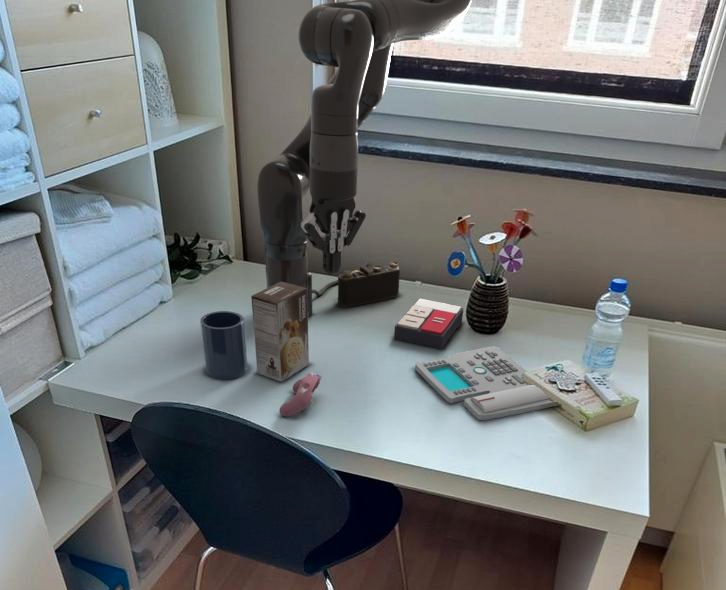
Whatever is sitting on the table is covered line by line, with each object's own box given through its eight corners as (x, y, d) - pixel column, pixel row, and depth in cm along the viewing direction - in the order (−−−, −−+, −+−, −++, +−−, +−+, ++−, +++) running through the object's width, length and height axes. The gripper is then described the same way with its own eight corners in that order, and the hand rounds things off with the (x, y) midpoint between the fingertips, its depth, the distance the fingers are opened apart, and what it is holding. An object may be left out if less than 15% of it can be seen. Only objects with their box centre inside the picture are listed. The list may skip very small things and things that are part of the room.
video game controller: (298, 427, 121) (315, 399, 117) (276, 414, 120) (292, 385, 116) (312, 399, 129) (329, 372, 124) (291, 387, 128) (307, 359, 124)
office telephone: (565, 393, 126) (473, 414, 119) (562, 405, 127) (471, 426, 120) (496, 339, 142) (412, 355, 135) (494, 351, 144) (410, 366, 137)
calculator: (394, 323, 145) (418, 295, 155) (393, 341, 147) (417, 312, 158) (443, 333, 141) (464, 304, 152) (441, 351, 144) (462, 322, 155)
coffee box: (284, 356, 139) (281, 279, 129) (309, 364, 136) (308, 287, 126) (255, 373, 133) (250, 294, 123) (281, 383, 130) (278, 303, 120)
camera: (387, 287, 170) (389, 255, 165) (402, 297, 165) (404, 264, 160) (329, 299, 163) (329, 266, 158) (342, 309, 158) (343, 275, 154)
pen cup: (233, 356, 138) (228, 307, 132) (255, 371, 133) (252, 321, 127) (198, 367, 134) (192, 317, 127) (220, 383, 129) (214, 332, 123)
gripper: (314, 174, 100) (314, 287, 111) (381, 163, 107) (374, 271, 118) (284, 163, 104) (287, 273, 115) (350, 153, 111) (347, 258, 122)
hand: (331, 272), depth 116 cm, fingers closed
